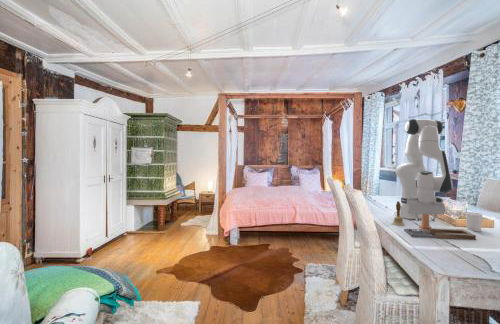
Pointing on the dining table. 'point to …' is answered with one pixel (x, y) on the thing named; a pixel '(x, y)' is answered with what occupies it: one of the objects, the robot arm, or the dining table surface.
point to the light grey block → (425, 232)
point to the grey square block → (416, 231)
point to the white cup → (474, 221)
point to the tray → (419, 235)
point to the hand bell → (398, 216)
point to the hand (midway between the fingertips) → (425, 221)
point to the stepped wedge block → (425, 222)
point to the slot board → (452, 234)
